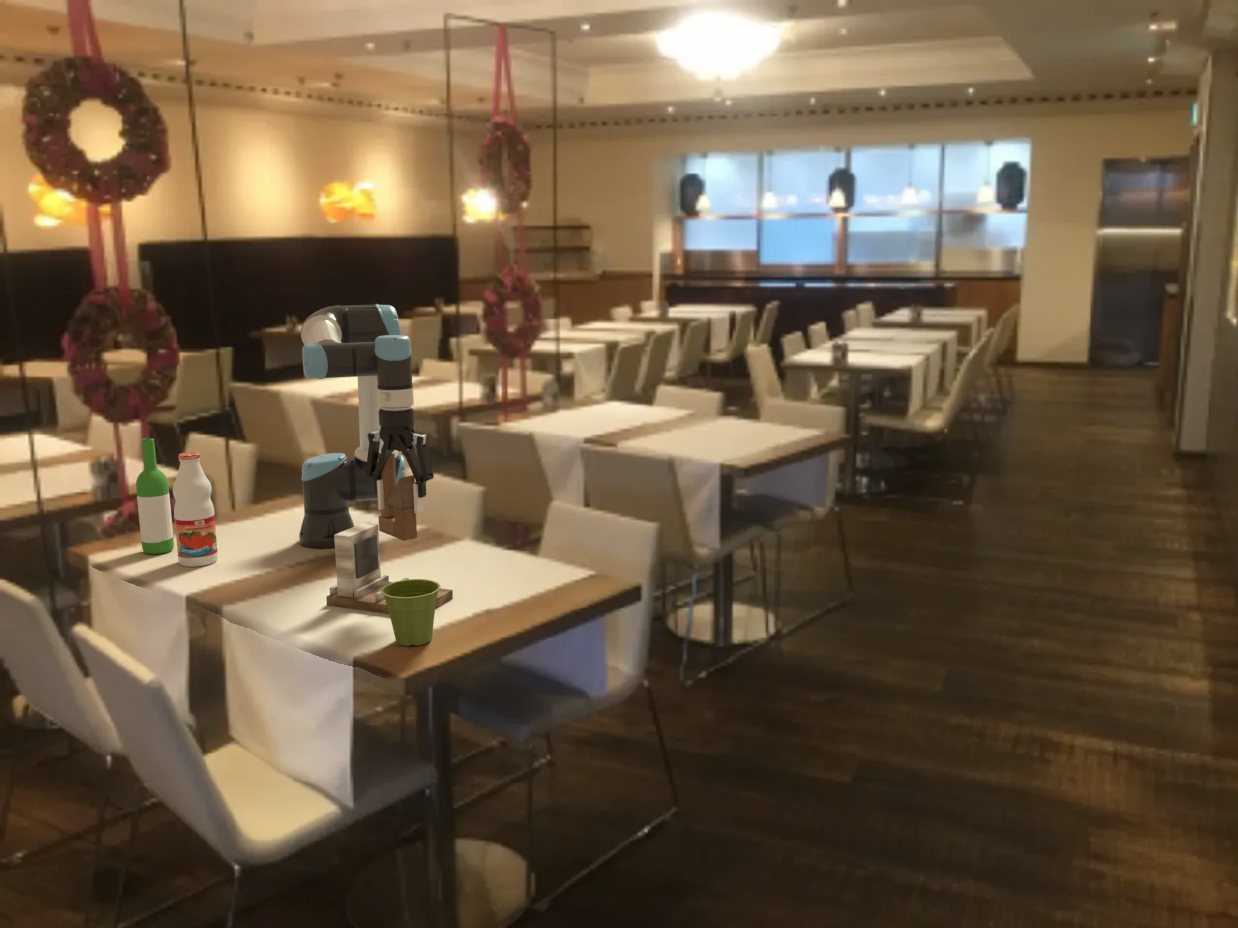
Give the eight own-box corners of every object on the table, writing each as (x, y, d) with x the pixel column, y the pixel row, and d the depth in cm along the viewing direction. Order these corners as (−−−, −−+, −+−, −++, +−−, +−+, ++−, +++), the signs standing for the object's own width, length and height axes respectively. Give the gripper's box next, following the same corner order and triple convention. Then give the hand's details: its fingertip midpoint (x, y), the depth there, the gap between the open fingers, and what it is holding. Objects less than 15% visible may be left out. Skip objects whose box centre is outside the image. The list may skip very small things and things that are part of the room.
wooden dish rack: (363, 586, 255) (359, 520, 252) (452, 598, 246) (450, 530, 243) (326, 604, 242) (322, 535, 239) (419, 618, 234) (416, 546, 230)
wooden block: (403, 541, 235) (399, 460, 231) (378, 531, 243) (374, 452, 239) (418, 538, 237) (414, 457, 234) (393, 528, 245) (389, 450, 241)
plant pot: (400, 628, 228) (398, 576, 225) (452, 633, 224) (450, 581, 222) (372, 648, 217) (369, 594, 214) (426, 654, 213) (424, 599, 211)
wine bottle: (180, 550, 286) (169, 438, 280) (151, 557, 280) (140, 442, 274) (165, 545, 291) (154, 435, 285) (136, 551, 285) (125, 439, 279)
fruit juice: (214, 554, 282) (205, 448, 276) (221, 563, 274) (212, 455, 268) (176, 560, 277) (166, 452, 272) (181, 569, 269) (171, 458, 264)
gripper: (344, 407, 234) (350, 509, 239) (429, 412, 227) (434, 518, 231) (364, 403, 241) (370, 502, 246) (448, 407, 233) (452, 510, 238)
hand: (401, 509), depth 238 cm, fingers open, 8 cm apart
